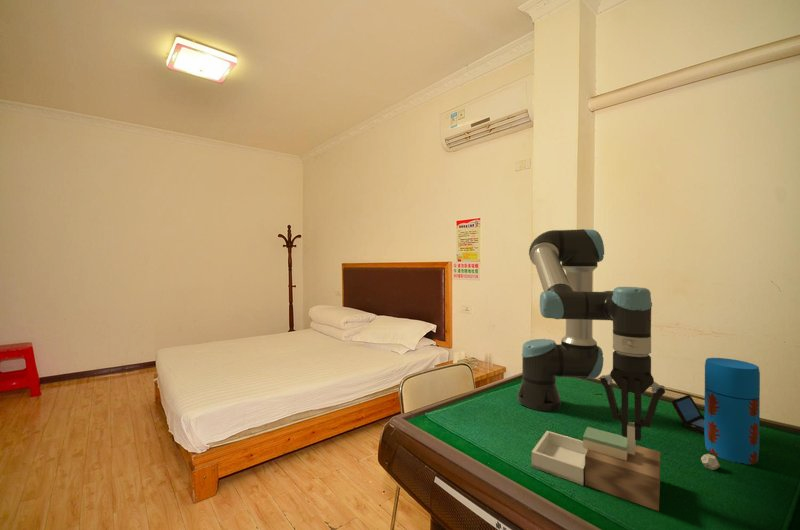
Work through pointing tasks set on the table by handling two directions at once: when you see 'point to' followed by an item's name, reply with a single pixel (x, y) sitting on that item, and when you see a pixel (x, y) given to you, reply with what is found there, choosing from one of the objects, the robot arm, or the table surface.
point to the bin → (560, 457)
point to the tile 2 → (615, 446)
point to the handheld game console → (689, 413)
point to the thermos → (732, 409)
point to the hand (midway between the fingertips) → (631, 451)
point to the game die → (710, 461)
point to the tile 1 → (594, 440)
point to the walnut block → (626, 475)
